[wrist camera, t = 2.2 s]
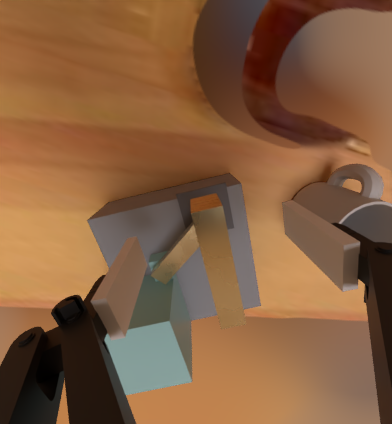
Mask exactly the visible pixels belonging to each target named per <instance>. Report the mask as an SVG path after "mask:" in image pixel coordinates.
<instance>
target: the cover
mask: <svg viewBox="0 0 392 424" xmlns="http://www.w3.org/2000/svg"><path fill="white" fill-rule="evenodd" d="M166 253H167V251H165V252H161V253H156V254H152V255H151V256H150V259H149V262H148V263H149V265H150V268H151V271H152V269H153V268H154V267H155V266H156V265H157V263H158V262H159V261H160V260H161V259H162V257H163V256H164V255H165V254H166ZM105 342H106V344H107V347H108V349H109V352H110V355H111V357H112V360H113V363H114V365H115V368H116V371H117V373H118V376H119V379H120V382H121V384H122V387H123V390H124V392H125V395H129V394H134V393H139V392H144V391H149V390H154V389H159V388H164V387H169V386H174V385H180V384H185V383H189V382H192V343H191V319H190V316H189V313H188V310H187V307H186V303H185V300H184V297H183V294H182V291H181V288H180V285H179V282H178V279H177V276H176V273H175V275H174V276H173V277H172V278H171V279H170V280H169V281H168V282H167V284H166V285H165V284H163V283H162V282H160V281H158V280H157V279H155V278H153V277H152V276H151V275H147V276H144V278H143V281H142V284H141V288H140V291H139V294H138V297H137V301H136V304H135V307H134V310H133V314H132V317H131V320H130V323H129V327H128V330H127V333H126V336H125V338H121V339H116V340H111V339H110V337H109V335H108V333H107V335H106V337H105Z"/></svg>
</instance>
